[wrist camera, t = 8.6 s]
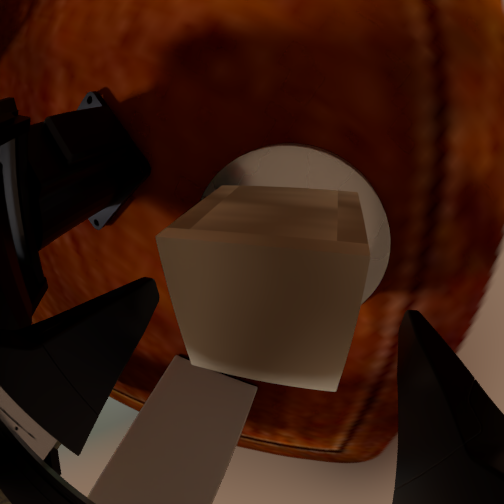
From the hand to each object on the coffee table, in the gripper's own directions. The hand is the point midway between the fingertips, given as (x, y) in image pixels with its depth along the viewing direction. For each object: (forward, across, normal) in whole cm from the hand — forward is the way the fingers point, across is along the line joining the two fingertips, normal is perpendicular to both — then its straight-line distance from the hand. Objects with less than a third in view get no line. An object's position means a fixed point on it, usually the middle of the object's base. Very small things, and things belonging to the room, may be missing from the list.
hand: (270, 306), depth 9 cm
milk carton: (+5, +7, +15) cm, 17 cm away
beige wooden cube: (+4, 0, 0) cm, 4 cm away
